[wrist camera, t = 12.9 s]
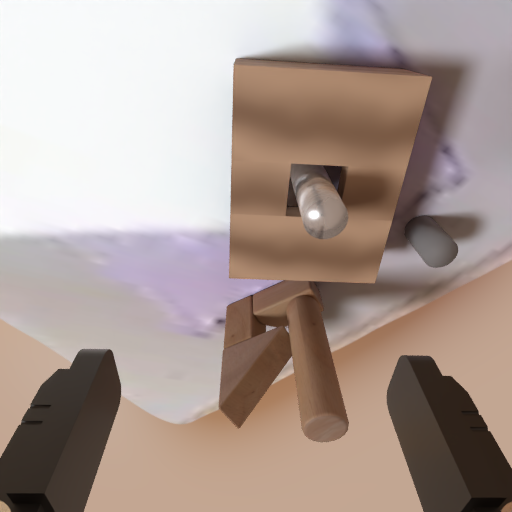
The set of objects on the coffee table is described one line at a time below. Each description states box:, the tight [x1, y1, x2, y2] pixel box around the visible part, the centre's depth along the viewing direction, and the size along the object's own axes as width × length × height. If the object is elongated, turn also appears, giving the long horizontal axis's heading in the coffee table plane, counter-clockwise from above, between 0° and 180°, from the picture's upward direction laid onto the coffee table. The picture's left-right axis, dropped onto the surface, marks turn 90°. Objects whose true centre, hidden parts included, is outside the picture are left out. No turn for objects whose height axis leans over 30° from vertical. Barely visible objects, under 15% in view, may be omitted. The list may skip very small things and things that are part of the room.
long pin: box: [290, 164, 348, 239], centre depth 31 cm, size 3×3×11 cm
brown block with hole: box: [229, 58, 432, 283], centre depth 33 cm, size 18×14×6 cm
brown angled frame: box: [219, 280, 349, 442], centre depth 36 cm, size 4×11×18 cm, turn 118°
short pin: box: [405, 215, 458, 268], centre depth 37 cm, size 3×3×5 cm
